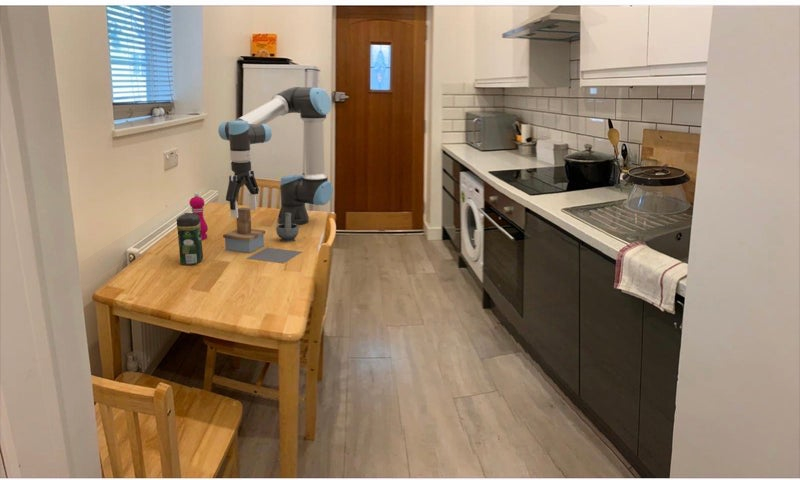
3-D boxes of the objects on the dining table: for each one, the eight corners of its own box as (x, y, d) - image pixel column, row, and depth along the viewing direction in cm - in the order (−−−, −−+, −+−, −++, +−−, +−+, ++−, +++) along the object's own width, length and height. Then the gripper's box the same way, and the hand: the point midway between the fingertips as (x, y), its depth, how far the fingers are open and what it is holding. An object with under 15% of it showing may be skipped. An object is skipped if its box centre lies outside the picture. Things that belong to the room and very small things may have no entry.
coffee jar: (183, 258, 210) (179, 211, 205) (204, 257, 212) (201, 211, 206) (177, 266, 201) (173, 217, 196) (200, 265, 202) (196, 217, 197)
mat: (267, 249, 225) (267, 247, 224) (302, 253, 220) (302, 251, 220) (246, 260, 210) (246, 258, 210) (283, 265, 206) (283, 263, 205)
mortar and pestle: (298, 244, 232) (297, 217, 229) (275, 244, 231) (275, 217, 228) (299, 237, 243) (299, 211, 240) (278, 237, 242) (277, 211, 238)
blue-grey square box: (240, 244, 230) (240, 231, 228) (264, 247, 227) (263, 233, 225) (225, 251, 219) (224, 237, 218) (249, 254, 216) (249, 240, 215)
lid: (239, 230, 229) (238, 204, 226) (265, 233, 225) (264, 207, 222) (223, 237, 218) (221, 210, 214) (249, 240, 214) (248, 213, 211)
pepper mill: (187, 239, 234) (183, 194, 229) (197, 235, 241) (194, 191, 236) (201, 241, 233) (198, 195, 227) (211, 237, 239) (208, 192, 234)
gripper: (231, 166, 201) (234, 221, 207) (265, 157, 224) (268, 207, 230) (213, 165, 203) (217, 219, 209) (249, 156, 226) (252, 205, 232)
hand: (244, 213), depth 219 cm, fingers open, 13 cm apart
